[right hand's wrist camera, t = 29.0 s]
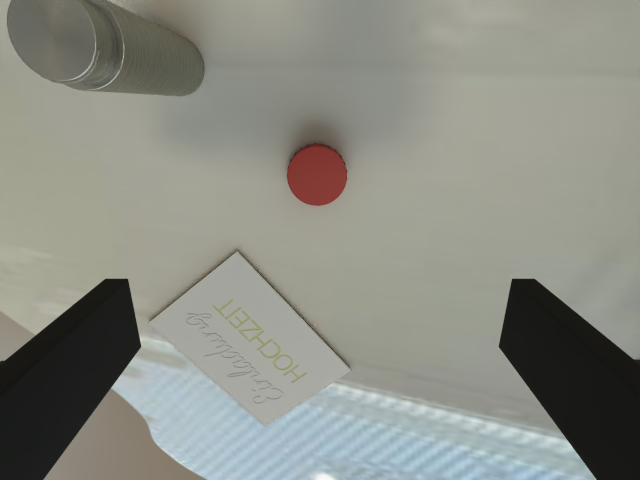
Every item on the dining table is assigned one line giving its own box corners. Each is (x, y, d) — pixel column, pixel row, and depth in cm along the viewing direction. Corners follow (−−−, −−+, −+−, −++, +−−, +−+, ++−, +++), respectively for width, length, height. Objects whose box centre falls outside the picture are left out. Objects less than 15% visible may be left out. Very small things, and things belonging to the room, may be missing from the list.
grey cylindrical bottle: (141, 80, 36) (-10, 59, 20) (158, 24, 35) (8, -50, 18) (193, 105, 37) (90, 107, 20) (212, 52, 36) (116, 6, 19)
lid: (355, 155, 39) (357, 159, 37) (333, 208, 41) (334, 214, 39) (300, 134, 38) (298, 136, 36) (280, 189, 40) (278, 194, 38)
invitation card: (351, 370, 48) (264, 427, 51) (351, 369, 48) (264, 425, 51) (237, 251, 42) (147, 323, 45) (237, 250, 42) (148, 322, 46)
